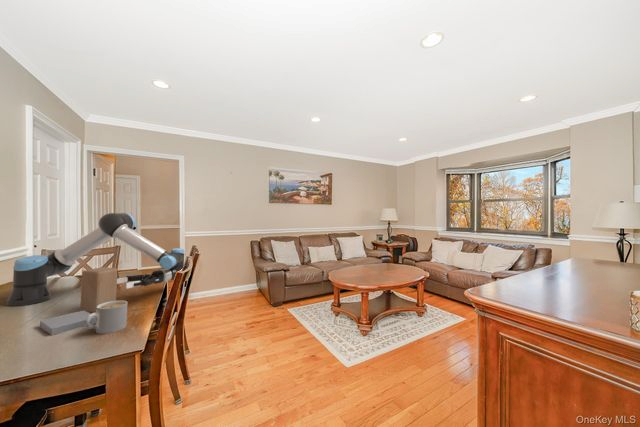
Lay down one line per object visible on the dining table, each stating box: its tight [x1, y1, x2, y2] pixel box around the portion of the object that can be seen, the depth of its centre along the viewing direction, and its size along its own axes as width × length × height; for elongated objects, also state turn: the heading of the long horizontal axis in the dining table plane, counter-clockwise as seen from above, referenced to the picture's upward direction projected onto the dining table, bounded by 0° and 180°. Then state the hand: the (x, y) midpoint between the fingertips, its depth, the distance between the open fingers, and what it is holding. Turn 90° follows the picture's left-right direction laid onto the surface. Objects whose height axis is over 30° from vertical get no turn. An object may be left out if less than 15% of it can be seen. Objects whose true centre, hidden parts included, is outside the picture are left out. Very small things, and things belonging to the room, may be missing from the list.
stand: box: [39, 310, 96, 336], centre depth 107 cm, size 14×14×2 cm
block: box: [80, 266, 118, 314], centre depth 124 cm, size 10×10×20 cm
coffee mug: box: [85, 300, 128, 335], centre depth 103 cm, size 13×10×10 cm
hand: (119, 283), depth 131 cm, fingers open, 13 cm apart
